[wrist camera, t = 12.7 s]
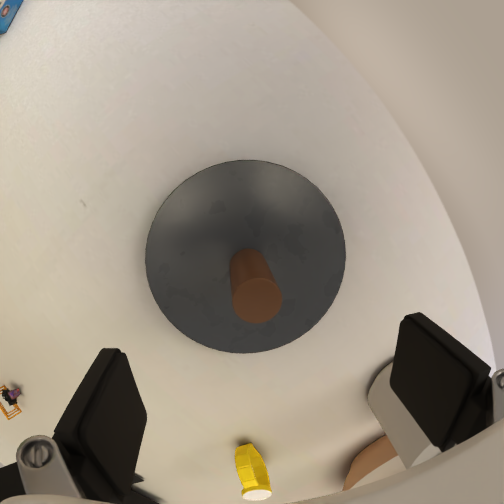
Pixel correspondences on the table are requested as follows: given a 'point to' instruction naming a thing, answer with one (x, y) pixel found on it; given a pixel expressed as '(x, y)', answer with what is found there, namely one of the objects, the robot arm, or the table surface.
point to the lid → (245, 256)
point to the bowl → (374, 464)
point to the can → (399, 423)
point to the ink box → (7, 13)
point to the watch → (252, 473)
